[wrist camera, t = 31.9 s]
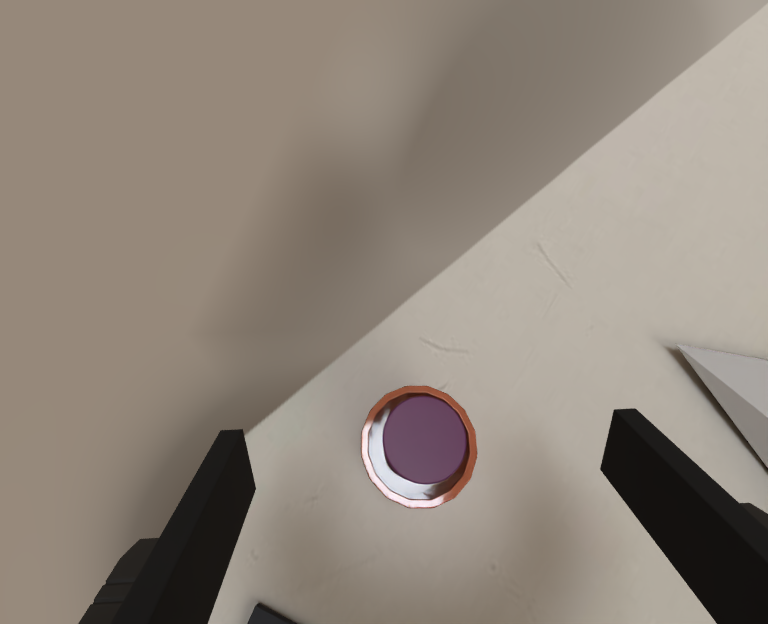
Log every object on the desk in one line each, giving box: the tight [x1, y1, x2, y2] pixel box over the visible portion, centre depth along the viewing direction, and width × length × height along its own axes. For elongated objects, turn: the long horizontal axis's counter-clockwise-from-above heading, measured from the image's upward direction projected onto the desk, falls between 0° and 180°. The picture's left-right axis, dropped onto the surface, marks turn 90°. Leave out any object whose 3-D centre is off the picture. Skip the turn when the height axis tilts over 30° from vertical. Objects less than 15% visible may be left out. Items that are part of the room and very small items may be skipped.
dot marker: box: [382, 396, 466, 485], centre depth 20 cm, size 4×4×10 cm
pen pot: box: [361, 386, 477, 508], centre depth 23 cm, size 6×6×6 cm
